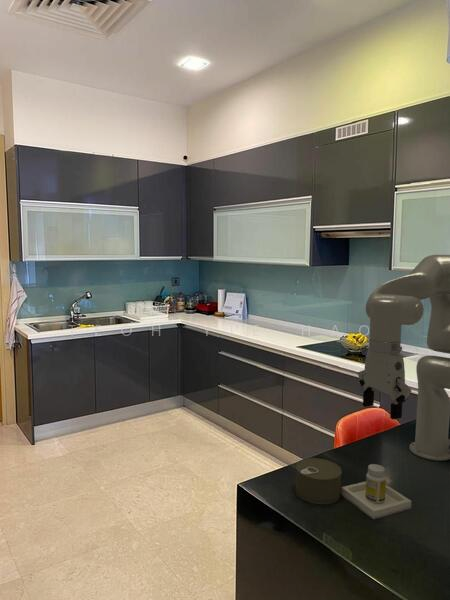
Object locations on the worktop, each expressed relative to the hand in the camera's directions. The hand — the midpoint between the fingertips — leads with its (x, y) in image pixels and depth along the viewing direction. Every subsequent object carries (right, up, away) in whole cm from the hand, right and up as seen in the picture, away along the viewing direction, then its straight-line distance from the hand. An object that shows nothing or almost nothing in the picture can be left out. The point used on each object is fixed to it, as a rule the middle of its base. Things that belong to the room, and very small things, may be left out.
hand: (381, 411), depth 115 cm
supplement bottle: (-2, -23, 0) cm, 23 cm away
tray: (-2, -23, 0) cm, 23 cm away
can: (-16, -23, +4) cm, 28 cm away
